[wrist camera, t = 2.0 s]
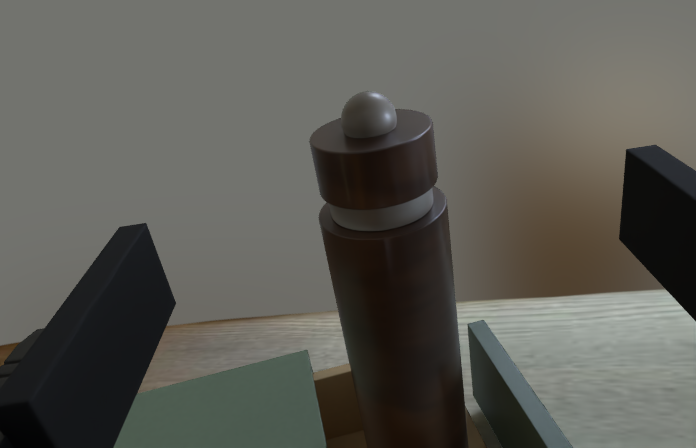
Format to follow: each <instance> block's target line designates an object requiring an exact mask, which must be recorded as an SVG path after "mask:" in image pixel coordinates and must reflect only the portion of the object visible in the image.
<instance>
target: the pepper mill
mask: <svg viewBox="0 0 696 448" xmlns="http://www.w3.org/2000/svg"><path fill="white" fill-rule="evenodd" d="M309 142H310V147H311V151H312V156H313V161H314V166H315V171H316V175H317V181H318V185H319V190H320V195H321V197H322V198H323V199H324V200H325V201H326V202H327V203H326V204H325V205H324V206H323V207H322V209H321V211H320V213H319V222H320V227H321V232H322V236H323V241H324V246H325V251H326V256H327V260H328V264H329V270H330V274H331V279H332V283H333V288H334V293H335V298H336V303H337V307H338V312H339V317H340V322H341V326H342V331H343V336H344V340H345V345H346V350H347V355H348V359H349V364H350V369H351V373H352V378H353V383H354V388H355V392H356V397H357V402H358V406H359V411H360V416H361V421H362V425H363V430H364V435H365V439H366V444H367V448H469V446H468V435H467V423H466V412H465V401H464V389H463V378H462V367H461V356H460V344H459V333H458V322H457V310H456V300H455V288H454V276H453V265H452V254H451V244H450V232H449V220H448V209H447V199H446V196H445V195H444V193H443V192H442V191H441V190H440V189H438V188H436V187H435V186H434V185H435V183H436V181H437V178H438V172H437V163H436V151H435V141H434V130H433V122H432V119H431V118H430V117H429V116H428V115H426V114H424V113H421V112H418V111H413V110H404V109H395V108H394V106H393V105H392V103H391V102H390V101H389V99H387V98H386V97H385V96H383V95H382V94H380V93H377V92H371V91H366V92H362V93H358V94H356V95H355V96H353V97H352V98H351V99H349V101H348V102H347V103H346V104H345V106H344V109H343V111H342V115H341V118H339V119H337V120H334V121H332V122H329V123H327V124H325V125H323V126H321V127H320V128H319V129H317V130H316V131H315V132H314V133H313V134H312V135H311V137H310V141H309Z"/></svg>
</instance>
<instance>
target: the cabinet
mask: <svg viewBox="0 0 696 448" xmlns="http://www.w3.org/2000/svg"><path fill="white" fill-rule="evenodd" d="M312 373H313V370H312V366H311V362H310V359H309V354H308V351H307V350H304V351H300V352H296V353H293V354H289V355H285V356H281V357H277V358H273V359H270V360H266V361H262V362H258V363H254V364H250V365H246V366H243V367H239V368H235V369H231V370H227V371H223V372H219V373H216V374H212V375H208V376H204V377H200V378H196V379H192V380H189V381H185V382H181V383H177V384H173V385H169V386H165V387H162V388H158V389H154V390H150V391H146V392H142V393H139V394H136V397H135V399H134V401H133V404H132V406H131V408H130V411H129V413H128V415H127V418H126V420H125V422H124V424H123V427H122V429H121V431H120V434H119V436H118V438H117V441H116V443H115V445H114V448H327V443H326V438H325V433H324V428H323V423H322V418H321V413H320V408H319V403H318V398H317V393H316V388H315V383H314V379H313V374H312Z"/></svg>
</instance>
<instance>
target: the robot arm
mask: <svg viewBox="0 0 696 448" xmlns="http://www.w3.org/2000/svg"><path fill="white" fill-rule="evenodd" d="M619 239H620V241H621V242H622V243H623V244H624V245H625V246H626V247H627V248H628V249H629V250H630V251H631V252H632V253H633V255H634V256H635V257H636V258H637V259H638V260H639V261H640V262H641V263H642V264H643V265H644V266H645V267H646V268H647V270H648V271H649V272H650V273H651V274H652V275H653V276H654V277H655V278H656V279H657V280H658V281H659V282H660V283H661V284H662V286H663V287H664V288H665V289H666V290H667V291H668V292H669V293H670V294H671V295H672V296H673V297H674V298H675V300H676V301H677V302H678V303H679V304H680V305H681V306H682V307H683V308H684V309H685V310H686V311H687V312H688V313H689V315H690V316H691V317H692V318H693V319H694V320H695V321H696V171H695V170H693V169H692V168H690V167H689V166H687V165H686V164H684V163H683V162H681V161H680V160H678V159H676V158H675V157H674V156H672V155H671V154H669V153H668V152H666V151H664V150H663V149H661V148H660V147H658V146H657V145H651V146H645V147H638V148H632V149H627V150H626V159H625V173H624V184H623V197H622V209H621V223H620V235H619ZM175 304H176V302H175V299H174V297H173V294H172V292H171V289H170V286H169V283H168V281H167V278H166V275H165V273H164V270H163V267H162V264H161V262H160V259H159V257H158V254H157V251H156V248H155V246H154V243H153V240H152V238H151V235H150V232H149V230H148V227H147V224H146V223H144V224H137V225H130V226H124V227H119V228H118V230H117V231H116V233H115V234H114V235H113V237H112V238H111V239H110V241H109V242H108V243H107V245H106V246H105V247H104V249H103V250H102V251H101V253H100V254H99V256H98V257H97V258H96V260H95V261H94V262H93V264H92V265H91V266H90V268H89V269H88V271H87V272H86V273H85V274H84V276H83V277H82V279H81V280H80V281H79V283H78V284H77V285H76V287H75V288H74V289H73V291H72V292H71V293H70V295H69V297H67V299H66V300H65V302H64V303H63V304H62V306H61V307H60V308H59V310H58V311H57V312H56V314H55V315H54V316H53V318H52V319H51V321H50V322H49V323H48V325H47V326H46V327H45V328H44V329H38V330H36V331H35V332H33V333H32V334H31V335H29V336H28V337H27V338H26V339H25V340H23V341H22V342H21V343H19V344H18V345H17V346H16V347H15V349H14V350H13V351H12V353H11V354H10V355H9V356H8V358H7V359H6V360H5V362H4V365H1V367H0V448H114V445H115V443H116V441H117V438H118V436H119V434H120V431H121V429H122V427H123V424H124V422H125V420H126V418H127V415H128V413H129V411H130V408H131V406H132V404H133V401H134V399H135V397H136V394H137V392H138V390H139V387H140V385H141V383H142V381H143V378H144V376H145V374H146V371H147V369H148V367H149V364H150V362H151V360H152V357H153V355H154V353H155V351H156V348H157V346H158V344H159V341H160V339H161V337H162V334H163V332H164V330H165V327H166V325H167V323H168V320H169V318H170V316H171V314H172V311H173V309H174V307H175Z"/></svg>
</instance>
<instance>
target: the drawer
mask: <svg viewBox="0 0 696 448" xmlns="http://www.w3.org/2000/svg"><path fill="white" fill-rule="evenodd" d="M468 336H469V349H470V362H471V375H472V388H473V396H474V398H475V399H476V401H477V403H478V405H479V407H480V408H481V410H482V412H483V414H484V416H485V417H486V419H487V421H488V423H489V425H490V426H491V428H492V430H493V432H494V434H495V435H496V437H497V439H498V441H499V443H500V444H501V446H502V448H573V447H572V446H571V444H570V443H569V441H568V440H567V438H566V437H565V436H564V434H563V433H562V431H561V430H560V428H559V427H558V426H557V424H556V423H555V421H554V420H553V418H552V417H551V416H550V414H549V413H548V411H547V410H546V408H545V406H544V405H543V404H542V403H541V401H540V400H539V398H538V397H537V396H536V394H535V393H534V391H533V390H532V388H531V387H530V386H529V384H528V383H527V381H526V380H525V378H524V377H523V375H522V374H521V373H520V371H519V370H518V368H517V367H516V365H515V364H514V363H513V361H512V360H511V358H510V357H509V355H508V354H507V353H506V351H505V350H504V348H503V347H502V345H501V344H500V343H499V341H498V340H497V338H496V337H495V335H494V334H493V333H492V331H491V330H490V328H489V327H488V325H487V324H486V322H485V321H484V320H481V321H477V322H473V323H470V324H468ZM312 374H313V379H314V383H315V388H316V393H317V398H318V403H319V408H320V413H321V418H322V423H323V428H324V433H325V438H326V443H327V448H367V444H366V439H365V435H364V430H363V425H362V421H361V416H360V411H359V406H358V402H357V397H356V392H355V388H354V383H353V378H352V373H351V369H350V364H345V365H341V366H337V367H334V368H330V369H326V370H322V371H318V372H315V373H312ZM465 412H466V423H467V435H468V446H469V448H487V447H486V445H485V443H484V441H483V439H482V437H481V435H480V433H479V431H478V429H477V427H476V426H475V424H474V422H473V420H472V418H471V416H470V414H469V412H468V410H467V408H466V407H465Z"/></svg>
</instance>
